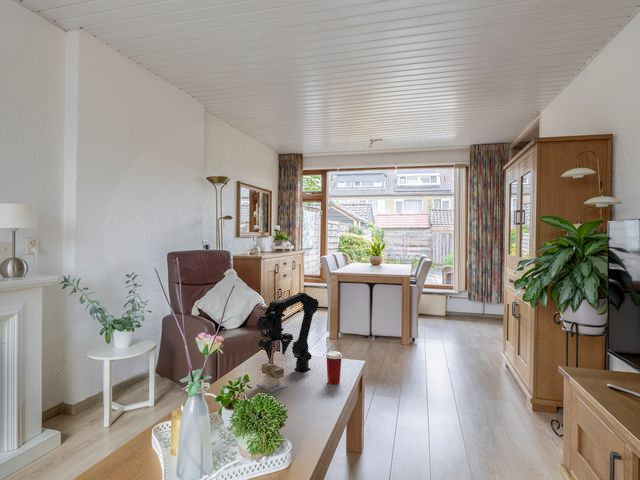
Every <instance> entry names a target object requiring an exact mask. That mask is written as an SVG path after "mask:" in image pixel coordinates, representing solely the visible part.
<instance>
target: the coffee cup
mask: <svg viewBox="0 0 640 480" xmlns="http://www.w3.org/2000/svg"><path fill="white" fill-rule="evenodd" d="M325 357H326V370H327V371H326V372H327V373H326V374H327V384H329V385H339V384H340V382H341V371H342V369H341V368H342V358H343V354H342V352H339V351H335V350H334V351H328V352H327V353H326V355H325Z"/></svg>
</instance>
